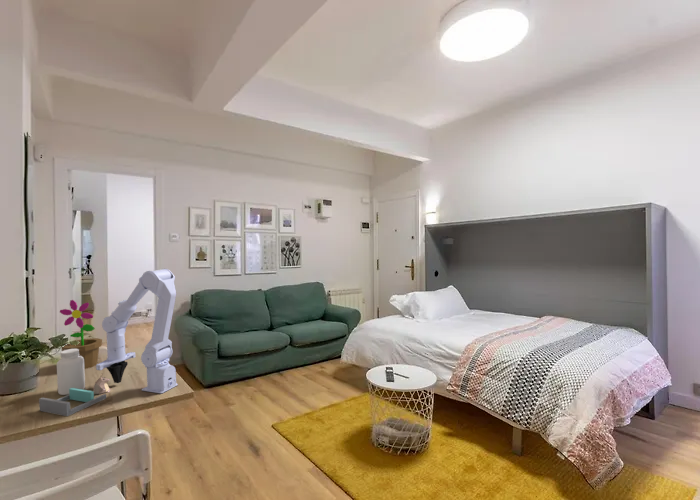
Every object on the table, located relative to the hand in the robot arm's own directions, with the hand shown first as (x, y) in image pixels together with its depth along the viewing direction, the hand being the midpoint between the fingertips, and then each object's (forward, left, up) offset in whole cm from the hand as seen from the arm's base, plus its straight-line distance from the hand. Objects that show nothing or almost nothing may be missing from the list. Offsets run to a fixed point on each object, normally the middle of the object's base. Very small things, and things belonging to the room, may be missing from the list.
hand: (117, 382), depth 136 cm
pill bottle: (+12, +8, -1) cm, 15 cm away
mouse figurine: (+1, +7, -2) cm, 7 cm away
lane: (0, +15, -1) cm, 16 cm away
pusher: (0, +13, -1) cm, 14 cm away
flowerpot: (+34, -12, -1) cm, 36 cm away
